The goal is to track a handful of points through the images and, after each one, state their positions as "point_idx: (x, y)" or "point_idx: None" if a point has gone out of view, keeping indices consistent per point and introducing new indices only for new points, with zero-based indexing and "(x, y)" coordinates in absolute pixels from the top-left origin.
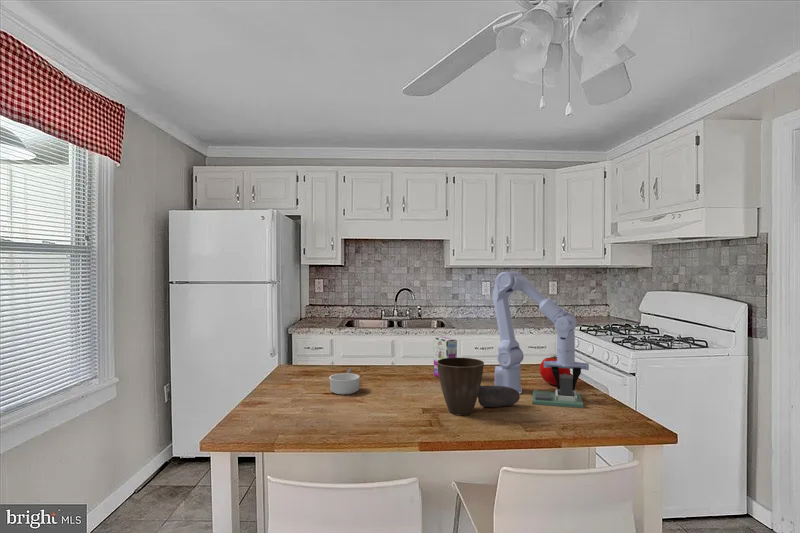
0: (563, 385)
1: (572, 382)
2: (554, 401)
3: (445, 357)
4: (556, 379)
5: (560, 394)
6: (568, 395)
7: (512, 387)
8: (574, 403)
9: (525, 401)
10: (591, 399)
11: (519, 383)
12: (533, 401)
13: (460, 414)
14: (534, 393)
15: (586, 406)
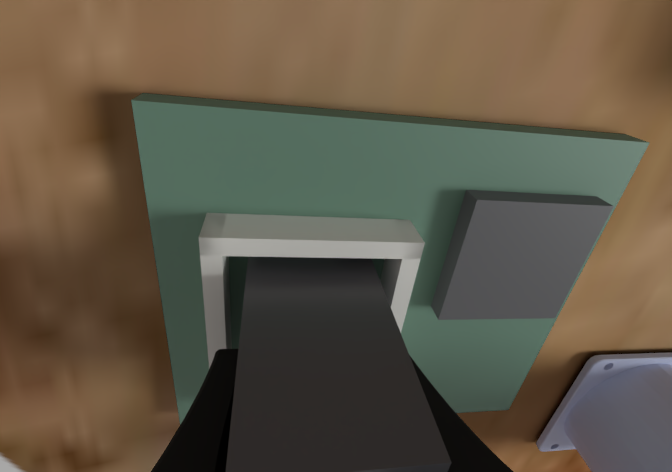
0: (366, 357)
1: (235, 410)
2: (437, 177)
3: None
4: (474, 444)
5: (376, 277)
6: (292, 273)
7: (668, 391)
8: (236, 142)
9: (640, 205)
10: (88, 366)
11: (625, 440)
12: (639, 140)
13: None
14: (527, 352)
15: (112, 163)
